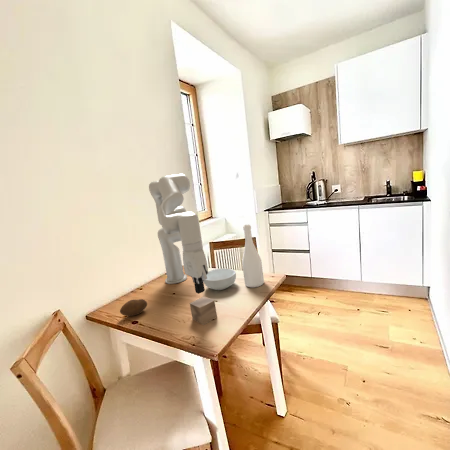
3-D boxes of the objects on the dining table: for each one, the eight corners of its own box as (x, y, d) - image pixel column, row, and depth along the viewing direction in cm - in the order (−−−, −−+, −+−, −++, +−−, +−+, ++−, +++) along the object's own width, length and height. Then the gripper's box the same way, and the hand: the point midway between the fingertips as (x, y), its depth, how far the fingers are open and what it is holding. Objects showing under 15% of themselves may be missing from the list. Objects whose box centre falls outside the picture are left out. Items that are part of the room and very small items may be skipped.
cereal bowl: (223, 296, 118) (221, 282, 117) (197, 291, 129) (195, 278, 128) (243, 282, 132) (241, 269, 130) (218, 278, 142) (216, 266, 141)
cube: (200, 308, 96) (203, 325, 97) (214, 300, 100) (217, 316, 101) (189, 303, 101) (192, 319, 102) (203, 296, 105) (206, 312, 106)
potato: (151, 311, 114) (148, 296, 113) (125, 322, 107) (122, 307, 106) (144, 307, 120) (142, 293, 119) (120, 317, 112) (116, 303, 111)
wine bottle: (262, 279, 132) (255, 222, 127) (265, 286, 123) (258, 225, 118) (244, 281, 132) (236, 224, 127) (246, 289, 123) (237, 228, 118)
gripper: (173, 247, 100) (181, 291, 103) (196, 251, 89) (204, 300, 92) (189, 242, 105) (197, 284, 108) (212, 245, 94) (220, 292, 96)
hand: (200, 291), depth 100 cm, fingers closed
